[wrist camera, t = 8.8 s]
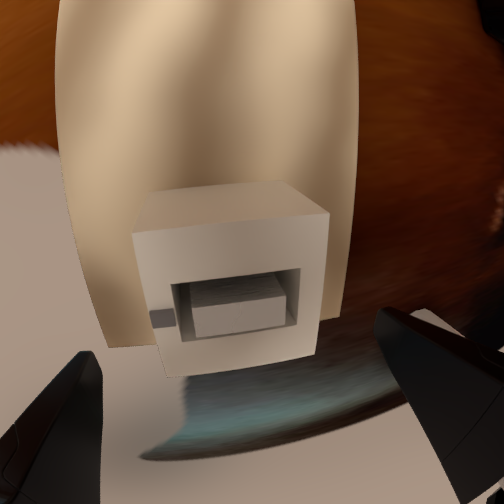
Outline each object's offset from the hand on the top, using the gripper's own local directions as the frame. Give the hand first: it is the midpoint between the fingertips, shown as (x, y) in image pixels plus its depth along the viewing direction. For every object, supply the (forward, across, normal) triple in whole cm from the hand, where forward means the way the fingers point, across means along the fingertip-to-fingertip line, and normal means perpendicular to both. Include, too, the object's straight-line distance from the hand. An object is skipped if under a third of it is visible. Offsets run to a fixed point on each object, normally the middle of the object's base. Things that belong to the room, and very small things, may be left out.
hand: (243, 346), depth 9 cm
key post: (+7, 0, 0) cm, 7 cm away
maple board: (+8, 0, -5) cm, 10 cm away
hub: (+7, 0, 0) cm, 7 cm away
